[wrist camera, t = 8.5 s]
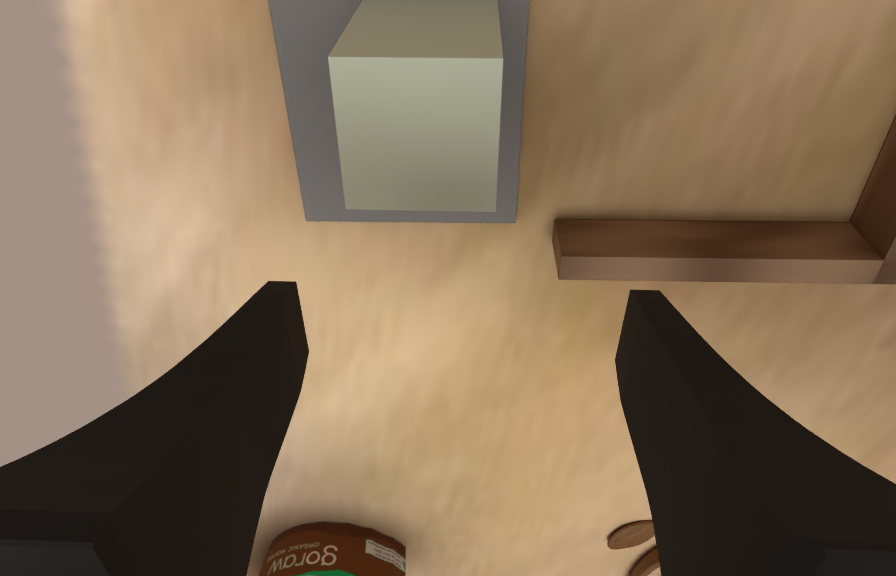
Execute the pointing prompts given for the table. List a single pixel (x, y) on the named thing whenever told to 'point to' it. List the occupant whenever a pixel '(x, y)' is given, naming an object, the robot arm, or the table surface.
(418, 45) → the sage block
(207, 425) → the robot arm
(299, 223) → the table surface
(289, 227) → the table surface
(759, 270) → the open side box
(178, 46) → the table surface
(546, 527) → the table surface
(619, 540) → the place setting
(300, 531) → the food container
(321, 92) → the mat
